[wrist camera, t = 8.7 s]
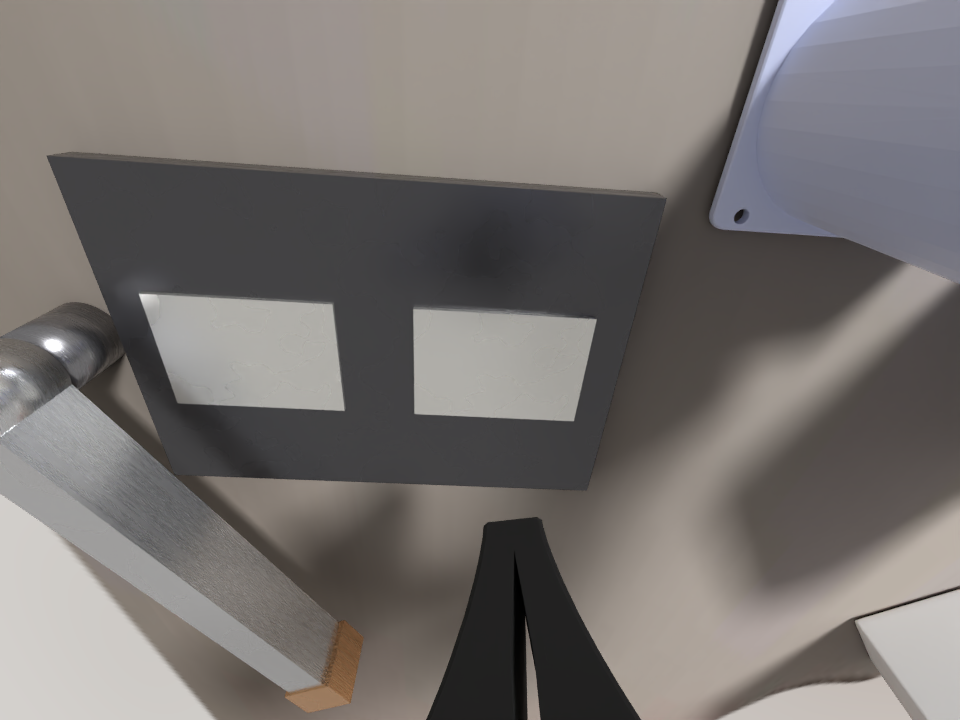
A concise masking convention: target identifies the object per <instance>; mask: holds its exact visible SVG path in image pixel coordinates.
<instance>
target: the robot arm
mask: <svg viewBox="0 0 960 720" xmlns="http://www.w3.org/2000/svg"><path fill="white" fill-rule="evenodd" d="M741 209H743V210H744V212H743V216H742V217H741V218H740V219H739V220H738V221H734V216H735V214H736V213H737V212H738V211H739V210H741ZM709 220H710V223H711V224H712V225H713V226H714V227H716V228H718V229H722V230H735V231H751V232H766V233H781V234H796V235H811V236H826V237H841V238H846V239H848V240H851V241H853V242H856V243H858V244H861V245H863V246H866V247H868V248H871V249H873V250H876V251H878V252H881V253H883V254H886V255H888V256H891V257H893V258H896V259H898V260H901V261H903V262H906V263H908V264H911V265H913V266H916V267H918V268H921V269H923V270H926V271H928V272H931V273H933V274H936V275H938V276H941V277H943V278H946V279H948V280H951V281H953V282H956V283H958V284H960V0H779V1H778V4H777V7H776V11H775V14H774V17H773V20H772V23H771V26H770V29H769V32H768V35H767V38H766V41H765V44H764V47H763V50H762V53H761V56H760V60H759V63H758V66H757V69H756V72H755V75H754V78H753V81H752V84H751V87H750V90H749V93H748V96H747V99H746V102H745V105H744V109H743V112H742V115H741V118H740V121H739V124H738V127H737V130H736V133H735V136H734V139H733V142H732V145H731V148H730V151H729V154H728V158H727V161H726V164H725V167H724V170H723V173H722V176H721V179H720V182H719V185H718V188H717V191H716V194H715V197H714V200H713V203H712V206H711V210H710V213H709ZM525 616H526V622H527V627H528V633H529V638H530V643H531V649H532V654H533V659H534V665H535V670H536V678H537V688H538V698H539V708H540V718H541V720H641V719H640V717H639V716H638V714H637V713H636V711H635V710H634V708H633V706H632V705H631V703H630V702H629V700H628V699H627V697H626V695H625V694H624V692H623V691H622V689H621V687H620V686H619V684H618V682H617V681H616V679H615V677H614V676H613V674H612V673H611V671H610V669H609V667H608V666H607V664H606V662H605V661H604V659H603V657H602V655H601V654H600V652H599V650H598V648H597V646H596V645H595V643H594V641H593V639H592V637H591V636H590V634H589V632H588V630H587V628H586V626H585V624H584V622H583V621H582V619H581V617H580V615H579V613H578V611H577V609H576V607H575V605H574V603H573V601H572V598H571V596H570V594H569V592H568V590H567V588H566V586H565V584H564V582H563V579H562V577H561V575H560V573H559V570H558V568H557V565H556V563H555V560H554V558H553V556H552V553H551V550H550V547H549V545H548V542H547V539H546V535H545V532H544V528H543V524H542V520H541V519H539V518H538V517H533V518H524V519H515V520H506V521H496V522H488V523H487V524H485V525H484V528H483V538H482V545H481V551H480V556H479V561H478V566H477V570H476V574H475V579H474V583H473V586H472V590H471V594H470V597H469V601H468V605H467V608H466V612H465V615H464V619H463V622H462V625H461V628H460V631H459V634H458V637H457V640H456V643H455V646H454V649H453V652H452V655H451V658H450V661H449V663H448V666H447V669H446V672H445V674H444V677H443V680H442V682H441V685H440V687H439V690H438V692H437V695H436V697H435V700H434V702H433V705H432V707H431V710H430V712H429V715H428V717H427V719H426V720H527V674H526V629H525Z"/></svg>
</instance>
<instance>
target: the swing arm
mask: <svg viewBox="0 0 960 720" xmlns="http://www.w3.org/2000/svg"><path fill="white" fill-rule="evenodd" d="M0 494H2V495H3V496H5V497H6V498H8V499H9V500H10V501H12V502H13V503H15V504H16V505H18V506H19V507H20V508H22V509H23V510H25V511H26V512H28V513H29V514H31V515H32V516H33V517H35V518H36V519H38V520H39V521H41V522H42V523H44V524H45V525H47V526H48V527H49V528H51V529H52V530H54V531H55V532H57V533H58V534H60V535H61V536H62V537H64V538H65V539H67V540H68V541H70V542H71V543H73V544H74V545H76V546H77V547H78V548H80V549H81V550H83V551H84V552H86V553H87V554H89V555H90V556H91V557H93V558H94V559H96V560H97V561H99V562H100V563H102V564H103V565H104V566H106V567H107V568H109V569H110V570H112V571H113V572H115V573H116V574H118V575H119V576H120V577H122V578H123V579H125V580H126V581H128V582H129V583H131V584H132V585H133V586H135V587H136V588H138V589H139V590H141V591H142V592H144V593H145V594H147V595H148V596H149V597H151V598H152V599H154V600H155V601H157V602H158V603H160V604H161V605H162V606H164V607H165V608H167V609H168V610H170V611H171V612H173V613H174V614H175V615H177V616H178V617H180V618H181V619H183V620H184V621H186V622H187V623H189V624H190V625H191V626H193V627H194V628H196V629H197V630H199V631H200V632H202V633H203V634H204V635H206V636H207V637H209V638H210V639H212V640H213V641H215V642H216V643H218V644H219V645H220V646H222V647H223V648H225V649H226V650H228V651H229V652H231V653H232V654H233V655H235V656H236V657H238V658H239V659H241V660H242V661H244V662H245V663H247V664H248V665H249V666H251V667H252V668H254V669H255V670H257V671H258V672H260V673H261V674H262V675H264V676H265V677H267V678H268V679H270V680H271V681H273V682H274V683H275V684H277V685H278V686H280V687H281V688H283V689H284V690H286V694H285V698H287V699H288V700H289V701H291V702H292V703H294V704H295V705H297V706H298V707H300V708H301V709H303V710H304V711H306V712H307V713H310V712H314V711H319V710H323V709H328V708H332V707H336V706H341V705H345V704H350V703H351V698H352V693H353V688H354V683H355V678H356V673H357V668H358V663H359V658H360V653H361V648H362V643H363V638H364V637H363V636H361V635H360V634H359V633H358V632H357V631H356V630H355V629H354V628H353V627H351V626H350V625H349V624H348V623H347V622H346V621H345V620H343V621H340V622H337V621H336V620H335V619H334V618H333V617H332V616H331V615H330V614H328V613H327V612H326V611H325V610H324V609H323V608H322V607H321V606H320V605H318V604H317V603H316V602H315V601H314V600H313V599H312V598H311V597H309V596H308V595H307V594H306V593H305V592H304V591H303V590H302V589H301V588H299V587H298V586H297V585H296V584H295V583H294V582H293V581H292V580H290V579H289V578H288V577H287V576H286V575H285V574H284V573H283V572H281V571H280V570H279V569H278V568H277V567H276V566H275V565H274V564H273V563H271V562H270V561H269V560H268V559H267V558H266V557H265V556H264V555H262V554H261V553H260V552H259V551H258V550H257V549H256V548H255V547H253V546H252V545H251V544H250V543H249V542H248V541H247V540H246V539H245V538H243V537H242V536H241V535H240V534H239V533H238V532H237V531H236V530H234V529H233V528H232V527H231V526H230V525H229V524H228V523H227V522H226V521H224V520H223V519H222V518H221V517H220V516H219V515H218V514H217V513H215V512H214V511H213V510H212V509H211V508H210V507H209V506H208V505H206V504H205V503H204V502H203V501H202V500H201V499H200V498H199V497H198V496H196V495H195V494H194V493H193V492H192V491H191V490H190V489H189V488H187V487H186V486H185V485H184V484H183V483H182V482H181V481H180V480H178V479H177V478H176V477H175V476H174V475H173V474H172V473H171V472H170V471H168V470H167V469H166V468H165V467H164V466H163V465H162V464H161V463H159V462H158V461H157V460H156V459H155V458H154V457H153V456H152V455H151V454H149V453H148V452H147V451H146V450H145V449H144V448H143V447H142V446H140V445H139V444H138V443H137V442H136V441H135V440H134V439H133V438H131V437H130V436H129V435H128V434H127V433H126V432H125V431H124V430H123V429H121V428H120V427H119V426H118V425H117V424H116V423H115V422H114V421H112V420H111V419H110V418H109V417H108V416H107V415H106V414H105V413H104V412H102V411H101V410H100V409H99V408H98V407H97V406H96V405H95V404H93V403H92V402H91V401H90V400H89V399H88V398H87V397H86V396H84V395H83V394H82V393H81V392H80V391H79V390H78V389H77V388H76V387H74V386H73V385H72V383H71V379H70V376H69V374H68V372H67V371H66V369H65V368H64V367H63V365H62V364H61V363H60V362H59V361H58V360H57V359H56V358H54V357H53V356H52V355H51V354H49V353H48V352H47V351H45V350H43V349H42V348H40V347H38V346H36V345H33V344H31V343H28V342H25V341H22V340H18V339H10V338H4V339H0Z"/></svg>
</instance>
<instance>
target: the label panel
mask: <svg viewBox="0 0 960 720" xmlns="http://www.w3.org/2000/svg"><path fill="white" fill-rule="evenodd" d="M47 158H48V161H49V163H50V166H51V168H52V171H53V173H54V176H55V178H56V181H57V183H58V185H59V188H60V190H61V193H62V195H63V198H64V200H65V203H66V205H67V208H68V210H69V213H70V215H71V218H72V220H73V223H74V225H75V228H76V230H77V233H78V235H79V238H80V240H81V243H82V245H83V248H84V250H85V253H86V255H87V258H88V260H89V263H90V265H91V268H92V270H93V273H94V275H95V278H96V280H97V283H98V285H99V288H100V290H101V293H102V295H103V298H104V300H105V303H106V305H107V308H108V310H109V313H110V315H111V317H110V316H109V315H108V314H107V313H105V312H103V311H102V310H100V309H98V308H96V307H94V306H91V305H88V304H84V303H77V302H71V303H66V304H63V305H61V306H59V307H57V308H55V309H53V310H51V311H49V312H47V313H45V314H43V315H41V316H39V317H38V318H36V319H34V320H32V321H30V322H28V323H26V324H24V325H22V326H20V327H18V328H16V329H15V330H13V331H11V332H9V333H7V334H5V335H3V336H1V337H0V339H4V338H10V339H18V340H22V341H25V342H28V343H31V344H33V345H36V346H38V347H40V348H42V349H43V350H45V351H47V352H48V353H49V354H51V355H52V356H53V357H54V358H56V359H57V360H58V361H59V362H60V363H61V364H62V365H63V367H64V368H65V369H66V371H67V372H68V374H69V376H70V379H71V383H72V385H73V386H74V387H76V388H77V389H78V390H79V389H80V388H81V387H82V386H84V385H85V384H86V383H88V382H89V381H90V380H92V379H93V378H94V377H96V376H97V375H98V374H100V373H101V372H102V371H104V370H105V369H106V368H108V367H109V366H110V365H112V364H113V363H114V362H115V361H117V360H118V359H119V358H121V357H122V356H123V355H124V353H125V352H126V355H127V357H128V360H129V362H130V365H131V367H132V370H133V372H134V375H135V377H136V380H137V382H138V385H139V387H140V390H141V392H142V395H143V397H144V400H145V402H146V405H147V407H148V410H149V412H150V415H151V417H152V420H153V422H154V425H155V427H156V430H157V432H158V435H159V437H160V440H161V442H162V445H163V447H164V450H165V452H166V455H167V457H168V459H169V462H170V464H171V467H172V469H173V472H174V474H175V475H194V476H220V477H247V478H273V479H299V480H325V481H351V482H377V483H403V484H429V485H455V486H481V487H507V488H533V489H559V490H585V491H587V488H588V484H589V481H590V477H591V473H592V470H593V466H594V462H595V459H596V455H597V451H598V448H599V444H600V440H601V437H602V433H603V430H604V426H605V422H606V419H607V415H608V411H609V408H610V404H611V400H612V397H613V393H614V389H615V386H616V382H617V378H618V375H619V371H620V367H621V364H622V360H623V356H624V353H625V349H626V345H627V342H628V338H629V334H630V331H631V327H632V323H633V320H634V316H635V313H636V309H637V305H638V302H639V298H640V294H641V291H642V287H643V283H644V280H645V276H646V272H647V269H648V265H649V261H650V258H651V254H652V250H653V247H654V243H655V239H656V236H657V232H658V228H659V225H660V221H661V217H662V214H663V210H664V206H665V203H666V199H667V198H665V197H663V196H661V195H660V194H658V193H654V192H640V191H625V190H611V189H597V188H582V187H568V186H554V185H539V184H525V183H510V182H496V181H482V180H467V179H453V178H439V177H424V176H410V175H395V174H381V173H367V172H352V171H338V170H324V169H309V168H295V167H280V166H266V165H252V164H237V163H223V162H209V161H194V160H180V159H166V158H151V157H137V156H122V155H108V154H94V153H79V152H67V153H61V154H54V155H48V156H47Z"/></svg>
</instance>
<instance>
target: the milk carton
mask: <svg viewBox="0 0 960 720" xmlns="http://www.w3.org/2000/svg"><path fill="white" fill-rule="evenodd" d="M855 624H856V626H857V628H858V631H859V633H860V635H861V638H862V640H863V642H864V645H865V647H866V649H867V652H868V654H869V656H870V659H871V661H872V662H873V664H874V665H875V667H876V668H877V670H878V671H879V672H880V674H881V675H882V677H883V678H884V680H885V681H886V682H887V684H888V685H889V687H890V688H891V690H892V691H893V692H894V694H895V695H896V697H897V698H898V700H899V701H900V703H901V704H902V705H903V707H904V708H905V710H906V711H907V712H908V714H909V716H910V717H911V718H912V720H960V589H958V590H955V591H951V592H948V593H945V594H941V595H938V596H934V597H931V598H928V599H924V600H921V601H918V602H914V603H911V604H908V605H904V606H901V607H898V608H894V609H891V610H888V611H884V612H881V613H878V614H874V615H871V616H868V617H864V618H861V619H858V620H855Z"/></svg>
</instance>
